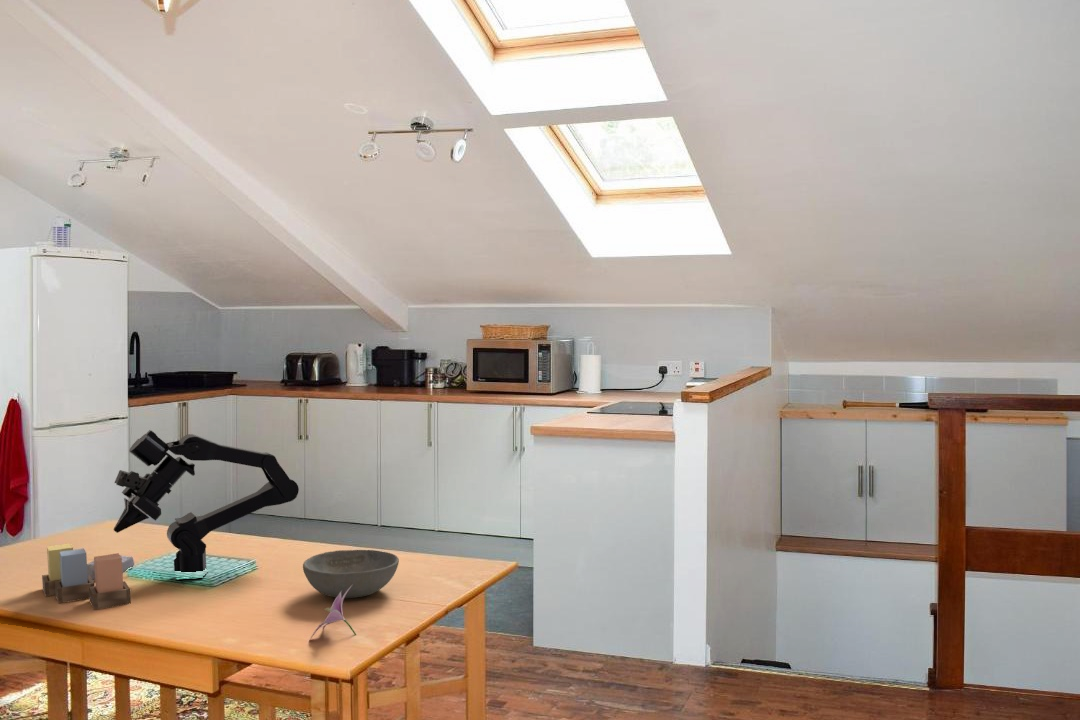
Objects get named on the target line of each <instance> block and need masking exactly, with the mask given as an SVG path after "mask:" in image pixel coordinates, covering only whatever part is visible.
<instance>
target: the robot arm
mask: <svg viewBox="0 0 1080 720" xmlns="http://www.w3.org/2000/svg"><path fill="white" fill-rule="evenodd" d="M168 451H170V452H171V453H172V454H173V455H175V456H178V457H176V458H175V457H173V456H172V455H171V454H170V453H168ZM128 452H129V453H130V454H131V455H133V456H134V457H135V458H137V459H138V460H139V461H141V462H142V463H143V464H144V465H145V466H147V467H150V466H151V465H153V466H156V467H155V469H154V470H153V471H152V472H151V473H149V472H148V473H146V474H145V475H144V476H141V475H140V473H139V472H135V471H133V470H131V471H130V472H128V471H125V470H121V469H120V470H119V471H118V473H117V476H116V478H115V481H114V484H116V486H119V487H123V488H124V487H125V488H124V489H123V490H122V491H121V494H122V495H124V496H125V497H124V498H123V501H124V509H123V511H122V513H121V515H120V517H119V518H118V520H117V522H116V523H115V526H114V527H113V532H115V533H117V534H119V533H121V532H122V531H125V530H126V529H128V528H130V527H132V526H134V525H136V524H138V523H140V522H143V521H145V520H148V519H149V518H151V519H152V520H154V521H157V520H158V519H159V518H160V516H161V515H162V508H161V507H159V506H160V504H159V502H160V501H161V500H162V499H163V497H165V496H166V494H168V495H169V494H171V492H172V490H171V489H172V488H173V486H175V484H176V483H177V482H178V481H179V480H180V479H181V478H182V477H183V476H184V474H185V473H188V474H189V475H191V476H193V477H194V476H195V475H196V471H195V465H196V464H195V463H192V462H190V463H188V462H187V461H186V460H184V459H183V458H182V457H184V458H185V459H187V460H190V461H196V462H197V461H201V462H202V461H223V462H227V463H232V464H238V465H244V466H248V467H254V468H260V469H261V471H262V472H263V474H264V476H265V479H266V480H267V481H268V482H266V483H264V485H263V486H261V488H259V489H258V490H257V491H256V492H253V493H251V494H249V495H246V496H243V497H242V498H240V499H238V500H237V499H236V500H235V501H234V502H231V503H228V504H226V505H223V506H221V507H219V508H217V509H215V510H213V511H210V512H208V513H206V514H203V515H200V516H198V515H197V516H196V515H195V514H194V512H192V511H190V512H188V513H186V514H185V515H183V516H181V517H177V518H174V520H175V521H173V522H172V523H170V524H169V525H168V528H167V529H166V536H167V539H168V541H169V542H170V544H172V546H173V547H175V548H176V549H178V551H177V552H175V558H174V560H173V566H174V567H173V571H181V572H196V571H203V570H205V568H206V569H207V551H206V549H207V544H206V543H205V542H204V541H203V540H202V539H204V538H205V537H206V536H207V535H208V534H210V532H213V531H215V530H217V529H220V528H221V527H224V526H225V525H228V524H230V523H233V522H234V521H237V520H239V519H240V518H243V517H245V516H248V515H250V514H252V513H254V512H256V511H259V510H261V509H263V508H265V507H272V506H273V507H274V506H278V505H282V504H285V503H290V502H293V501H294V500H295V499H296V498H297V497H298V494H299V491H300V490H299V489H300V488H299V485H298V483H297V482H296V481H295V480H293V479H291V478H290V477H289V476H288V474H287V473H286V471H285V470H284V469H283V467H282V466H281V465H280V463H279V462H278V459H277V458H276V456H275V455H273V454H272V453H270V452H260V451H255V450H251V449H244V448H239V447H234V446H230V445H224V444H220V443H217V442H214V441H212V440H210V439H207V438H204V437H201V436H199V435H195V434H193V433H189V434H187V433H186V434H184V435H183V436H182V437H181V438H180V439H179V440H178V439H177V440H174V441H170V442H165V441H164V440H162V439H161V437H159V436H158V435H157V433H156V432H154V431H153V430H151V429H149V430H148V431H147V432H146V433H144V434H143V435H142V436H141V437H140V438H137V439H136V441H135V442H133V444H132V445H131V446H130V448H129V450H128ZM180 456H182V457H180ZM126 497H127V498H126Z"/></svg>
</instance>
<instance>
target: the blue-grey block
mask: <svg viewBox="0 0 1080 720" xmlns="http://www.w3.org/2000/svg"><path fill="white" fill-rule="evenodd" d="M59 553H60V571H61V585H62V587H69V586H75V585H81V584H87V583H88V575H87V564H88V559H87V557H88V555H87V551H86V550H85V548H83V547H82V548H76V549H73V550H69V551H62V552H59Z"/></svg>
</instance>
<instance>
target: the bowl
mask: <svg viewBox="0 0 1080 720" xmlns="http://www.w3.org/2000/svg"><path fill="white" fill-rule="evenodd" d="M399 562H400V559H399V556H397V555H396V554H394V553H391V552H388V551H382V550H381V551H380V550H376V549H353V550H352V549H346V550H345V549H343V550H341V549H340V550H333V551H325V552H323V553H322V552H321V553H318V554H315V555H313V556H311V557H309V558H307V559H306V560H305V561H303V564H302V569H303V570H302V571H303V573H304V576H305V577H306V580H307V581H308V583H309V584H310V585H311V586H312V588H313V589H315V590H316V592H319V593H321V594H323V595H325V596H328V597H332V598H336V597H337V596H338V595H339V593H340V592H341V598H342V597H343V595H344V594H345V593H346V591H347V590H348V589H349V588H350V586H351V585H352V586H351V588H350V589H349V591H348V592H347V594H346V595H345V597H344V599H354V598H362V597H366V596H369V595H372V594H374V593H377V592H379V590H382V589H383V588H384V587H385V586H387V585H388V583H390V582H391V580H392V579H393V577H394V576H395V574H396V571H397V569H398V566H399Z"/></svg>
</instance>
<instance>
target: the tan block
mask: <svg viewBox="0 0 1080 720" xmlns="http://www.w3.org/2000/svg"><path fill="white" fill-rule="evenodd" d="M120 555H121V554H119V552H118V553H112V554H111V553H109V554H104V555H97V556H93V561H94V567H95V580H94V584H95V586H96V591H97V593H104V592H110V591H116V590H122V589H123V581H124V576H123V574H124V573H123V571H122V558H121V556H120Z"/></svg>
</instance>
